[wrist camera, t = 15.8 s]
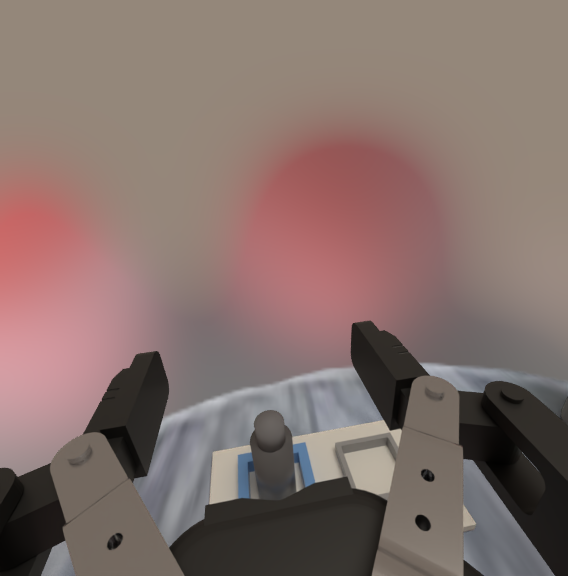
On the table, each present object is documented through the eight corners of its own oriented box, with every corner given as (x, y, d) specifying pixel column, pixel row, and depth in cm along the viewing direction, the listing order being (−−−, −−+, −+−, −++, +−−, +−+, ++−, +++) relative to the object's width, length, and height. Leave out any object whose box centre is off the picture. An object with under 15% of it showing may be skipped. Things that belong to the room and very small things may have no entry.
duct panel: (404, 420, 44) (407, 406, 42) (474, 529, 31) (480, 513, 30) (214, 456, 40) (210, 441, 39) (205, 593, 28) (199, 578, 27)
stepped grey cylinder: (272, 469, 37) (263, 399, 32) (303, 486, 35) (298, 414, 30) (252, 502, 34) (238, 430, 29) (284, 523, 32) (275, 449, 27)
